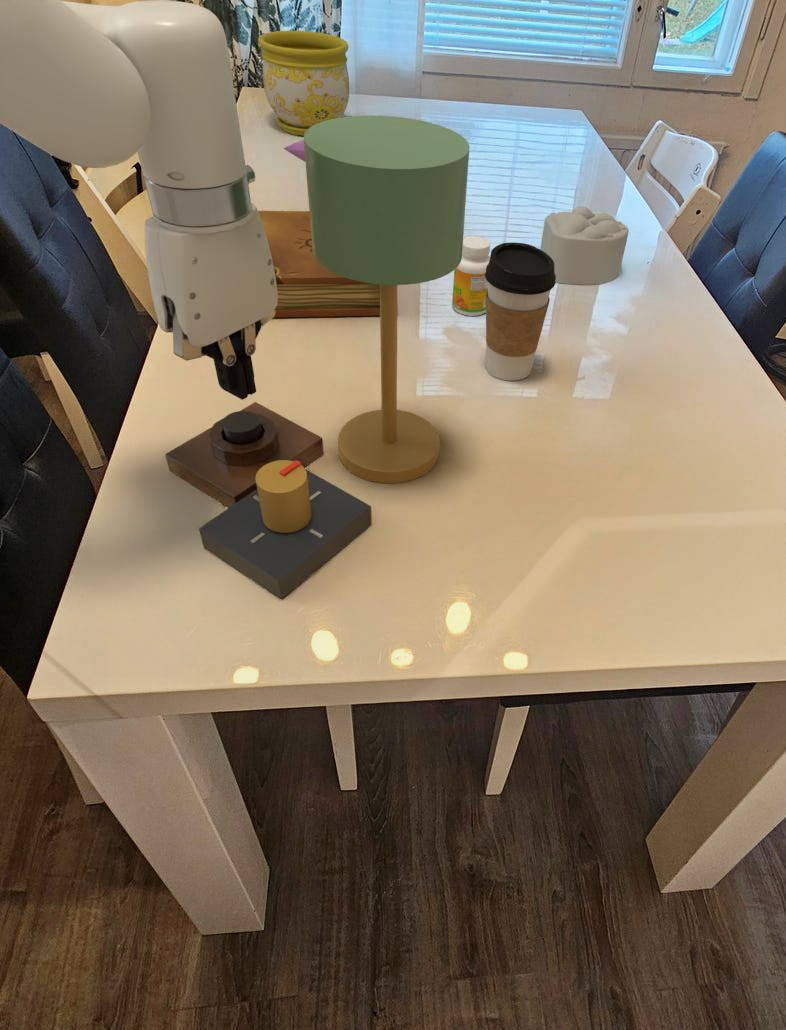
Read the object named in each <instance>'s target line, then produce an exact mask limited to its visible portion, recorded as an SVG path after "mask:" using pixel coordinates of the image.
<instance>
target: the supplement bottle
mask: <svg viewBox="0 0 786 1030" xmlns="http://www.w3.org/2000/svg"><path fill="white" fill-rule="evenodd" d="M490 253H491V242H490V241H489V240H488V239H487V238H485V237H482V236H476V235H475V236H474V235H470V236H465V237H463V248H462V259H461V262H460V264H459V265H458V267H457V268H456V269H455V270H454V271H453V284H452V298H451V299H452V300H451V307H452V309H453V310H454V311H455V312H457V313H459V314H460V315H464V316H469V317H476V316H480V315H483V314H486V291H487V289H488V281H487V280H486V278H485V272H486V267H487V265H488V264H489V260H490Z"/></svg>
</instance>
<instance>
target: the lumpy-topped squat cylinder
mask: <svg viewBox="0 0 786 1030" xmlns="http://www.w3.org/2000/svg"><path fill="white" fill-rule="evenodd" d="M628 236H629V228H628V226H627V225H625V224H624V223H623V222H622V221H618V220H616V219H615V218H614V217H613V216H612V215H611V214H609V213H607V212H599V213H594V212H593V211H592V210H591V209H590V208H588V207H587V206H578V207H575V208H574V209H573V210H572V211H571V212H570V211H558V212H554V213H551V214H548V215H547V216H546V217H544V223H543V229H542V236H541V243H540V248H539V249H540V250H542V251H543V252H545V253H546V254H548V255H549V256H550V257H551V258H552V260H553V261H554V273H555V275H556V280H555V281H556V282H555V283H558V284H563V285H577V286H579V285H581V286H592V285H593V286H594V285H595V286H596V285H602V284H606V283H609V282H613V281H614V280H616V279H617V278H618V277H619V276H620V271H621V268H622V264H623V263H622V262H623V258H624V255H625V250H626V245H627V242H628Z"/></svg>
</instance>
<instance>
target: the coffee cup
mask: <svg viewBox="0 0 786 1030" xmlns="http://www.w3.org/2000/svg"><path fill="white" fill-rule="evenodd" d="M489 257H490V260H489V264H488V265H487V267H486V272H485V278H486V280H487V281H488V289H487V291H486V312H485V343H486V344H485V345H486V346H485V347H486V348H485V349H486V350H485V351H486V352H485V369H486V370H487V372H488V373H489V374H490V375H491V376H492V377H495V378H497V379H499V380H503V381H512V382H514V381H515V382H516V381H520V380H525V378H527V377H529V376H530V374H531V373H532V368H533V365H534V361H535V357H536V353H537V350H538V345H539V342H540V338H541V334H542V331H543V326H544V323H545V319H546V317H547V312H548V310H549V309H548V308H549V304H550V299H551V298H550V294H551V290H553V288H554V287H555V286H556V283H557V282H556V281H555V280H556V275H555V273H554V261H553V260H552V258H551V257H550V256H549V255H548V254H546V253H545V252H543V251H542V250H540V248H538V247H536V246H535V245H531V244H528V243H524V242H503V243H500V244H498V245H496V246H494V247H493V248H492V249H491V250H490V254H489Z"/></svg>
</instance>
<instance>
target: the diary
mask: <svg viewBox="0 0 786 1030" xmlns="http://www.w3.org/2000/svg"><path fill="white" fill-rule="evenodd" d="M258 213H259V215H260V218H261V221H262V224H263V227H264V230H265V233H266V237H267V240H268V244H269V248H270V252H271V257H272V261H273V266H274V272H275V278H276V284H277V295H278V300H277V306H276V308H275V311H276V313H275V316H274V317H273V318H310V317H311V318H312V317H314V318H315V317H316V318H317V317H361V316H363V317H365V316H367V317H368V316H369V317H371V316H372V317H373V316H380V284H372V283H365V282H360V281H356V280H352V279H349V278H345V277H343V276H340V275H337V274H335V273H333V272H331V271H329V270H328V269H326V268H325V267H323V266H322V265H321V264H320V263H319V262H318V261H317V260H316V258H315V256H314V254H313V248H312V236H311V223H310V211H309V210H258Z"/></svg>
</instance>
